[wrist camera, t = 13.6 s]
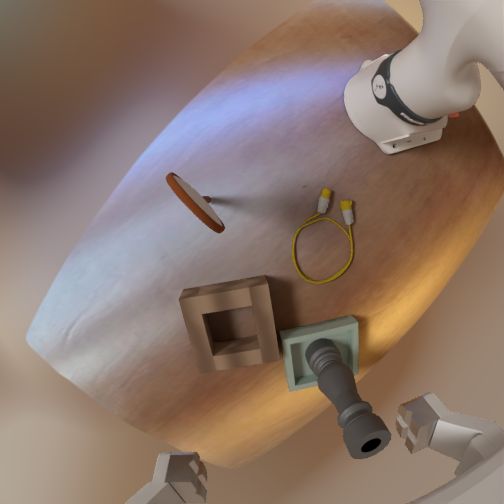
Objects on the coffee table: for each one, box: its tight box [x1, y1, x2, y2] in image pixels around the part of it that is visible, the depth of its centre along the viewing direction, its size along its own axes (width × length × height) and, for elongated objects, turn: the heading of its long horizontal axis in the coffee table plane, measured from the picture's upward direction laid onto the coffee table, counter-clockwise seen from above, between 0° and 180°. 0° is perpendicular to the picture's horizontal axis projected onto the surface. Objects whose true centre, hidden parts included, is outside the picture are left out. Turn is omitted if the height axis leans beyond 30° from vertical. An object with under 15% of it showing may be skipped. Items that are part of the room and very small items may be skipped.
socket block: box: [179, 275, 280, 373], centre depth 48 cm, size 14×14×5 cm
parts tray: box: [279, 315, 359, 392], centre depth 51 cm, size 14×12×4 cm
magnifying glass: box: [166, 173, 225, 233], centre depth 36 cm, size 9×2×20 cm, turn 42°
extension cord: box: [292, 188, 354, 284], centre depth 48 cm, size 12×16×2 cm
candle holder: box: [305, 338, 391, 459], centre depth 40 cm, size 6×6×25 cm
